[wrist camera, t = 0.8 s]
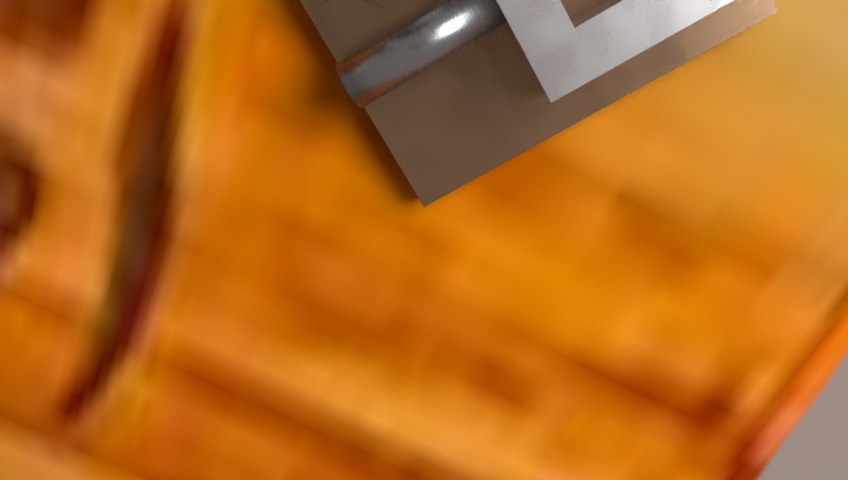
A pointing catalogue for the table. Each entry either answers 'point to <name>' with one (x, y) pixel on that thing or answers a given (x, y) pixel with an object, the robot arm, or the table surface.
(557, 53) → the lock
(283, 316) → the table surface
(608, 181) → the table surface
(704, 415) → the table surface
